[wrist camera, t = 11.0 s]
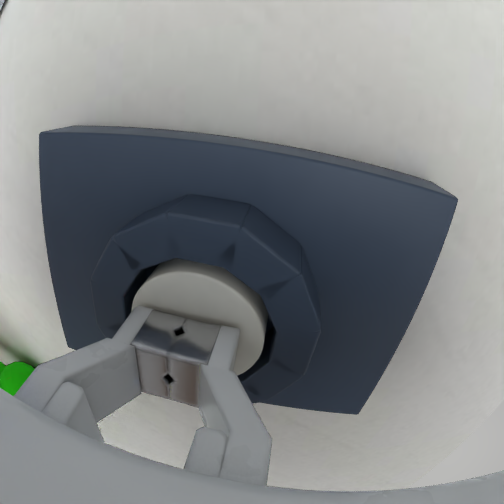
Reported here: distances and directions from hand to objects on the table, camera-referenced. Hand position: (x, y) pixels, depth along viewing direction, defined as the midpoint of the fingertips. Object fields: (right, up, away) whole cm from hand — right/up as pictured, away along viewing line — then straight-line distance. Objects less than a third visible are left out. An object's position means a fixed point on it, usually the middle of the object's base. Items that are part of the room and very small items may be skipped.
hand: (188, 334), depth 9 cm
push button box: (+1, +2, +4) cm, 4 cm away
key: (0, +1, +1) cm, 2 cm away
